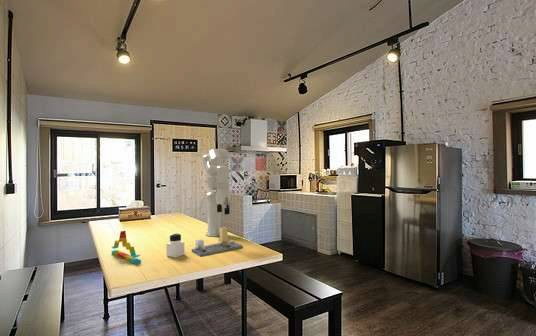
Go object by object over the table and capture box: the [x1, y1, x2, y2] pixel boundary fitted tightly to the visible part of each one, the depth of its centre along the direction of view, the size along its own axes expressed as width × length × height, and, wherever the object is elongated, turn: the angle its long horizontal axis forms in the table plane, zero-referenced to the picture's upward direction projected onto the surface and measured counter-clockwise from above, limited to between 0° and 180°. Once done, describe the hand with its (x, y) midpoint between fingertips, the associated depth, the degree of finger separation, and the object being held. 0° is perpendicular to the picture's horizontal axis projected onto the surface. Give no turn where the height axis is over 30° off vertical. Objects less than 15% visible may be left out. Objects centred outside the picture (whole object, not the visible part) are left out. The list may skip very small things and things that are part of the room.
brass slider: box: [217, 226, 230, 246], centre depth 187 cm, size 9×5×10 cm, turn 37°
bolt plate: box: [191, 239, 244, 257], centre depth 182 cm, size 12×28×6 cm, turn 127°
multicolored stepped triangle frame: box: [111, 230, 142, 265], centre depth 168 cm, size 30×3×15 cm, turn 49°
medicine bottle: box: [166, 233, 186, 258], centre depth 172 cm, size 7×7×12 cm
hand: (223, 213), depth 189 cm, fingers open, 9 cm apart
